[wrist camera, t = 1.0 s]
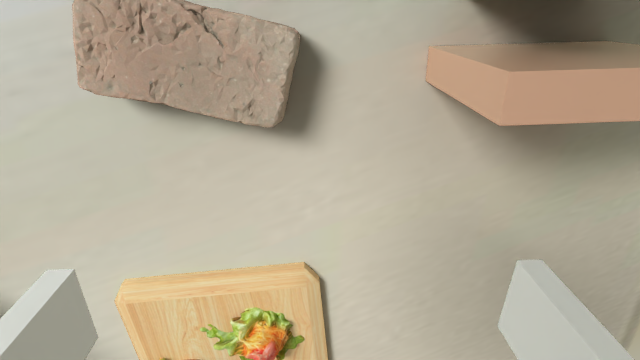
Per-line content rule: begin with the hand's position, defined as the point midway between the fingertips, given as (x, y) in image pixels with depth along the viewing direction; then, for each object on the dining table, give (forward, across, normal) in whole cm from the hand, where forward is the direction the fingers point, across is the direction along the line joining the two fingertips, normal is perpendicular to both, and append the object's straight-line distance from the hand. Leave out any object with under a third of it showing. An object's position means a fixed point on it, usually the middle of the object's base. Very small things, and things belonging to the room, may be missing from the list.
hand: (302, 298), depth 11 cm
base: (+25, +19, +4) cm, 32 cm away
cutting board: (+26, -8, -37) cm, 46 cm away
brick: (+26, -9, +4) cm, 28 cm away
